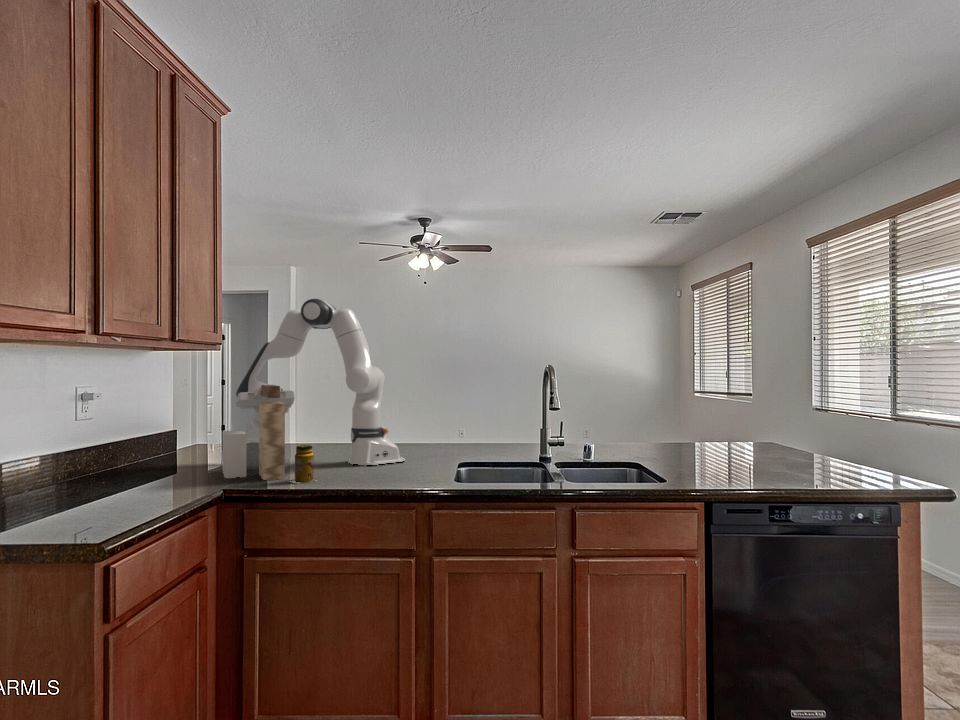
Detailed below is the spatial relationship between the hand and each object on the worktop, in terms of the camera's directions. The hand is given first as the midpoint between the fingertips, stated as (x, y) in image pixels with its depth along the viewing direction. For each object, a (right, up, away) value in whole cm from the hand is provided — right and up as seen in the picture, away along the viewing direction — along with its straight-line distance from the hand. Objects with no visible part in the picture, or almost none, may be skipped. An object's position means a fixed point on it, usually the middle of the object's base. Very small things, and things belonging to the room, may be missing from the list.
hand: (268, 389), depth 221 cm
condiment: (+18, -30, -19) cm, 40 cm away
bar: (+3, -2, -6) cm, 7 cm away
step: (-10, -30, -5) cm, 33 cm away
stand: (+5, -30, -10) cm, 32 cm away
